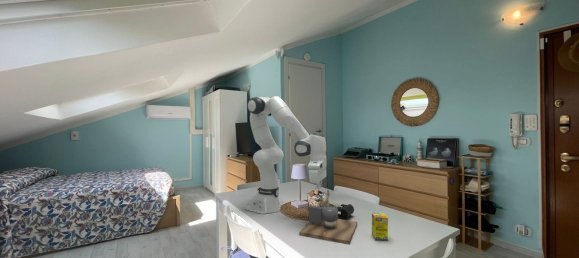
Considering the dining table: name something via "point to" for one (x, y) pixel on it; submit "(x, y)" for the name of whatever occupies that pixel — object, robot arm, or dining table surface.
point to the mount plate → (331, 230)
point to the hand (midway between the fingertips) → (318, 188)
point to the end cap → (345, 211)
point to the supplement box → (380, 226)
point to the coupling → (322, 214)
